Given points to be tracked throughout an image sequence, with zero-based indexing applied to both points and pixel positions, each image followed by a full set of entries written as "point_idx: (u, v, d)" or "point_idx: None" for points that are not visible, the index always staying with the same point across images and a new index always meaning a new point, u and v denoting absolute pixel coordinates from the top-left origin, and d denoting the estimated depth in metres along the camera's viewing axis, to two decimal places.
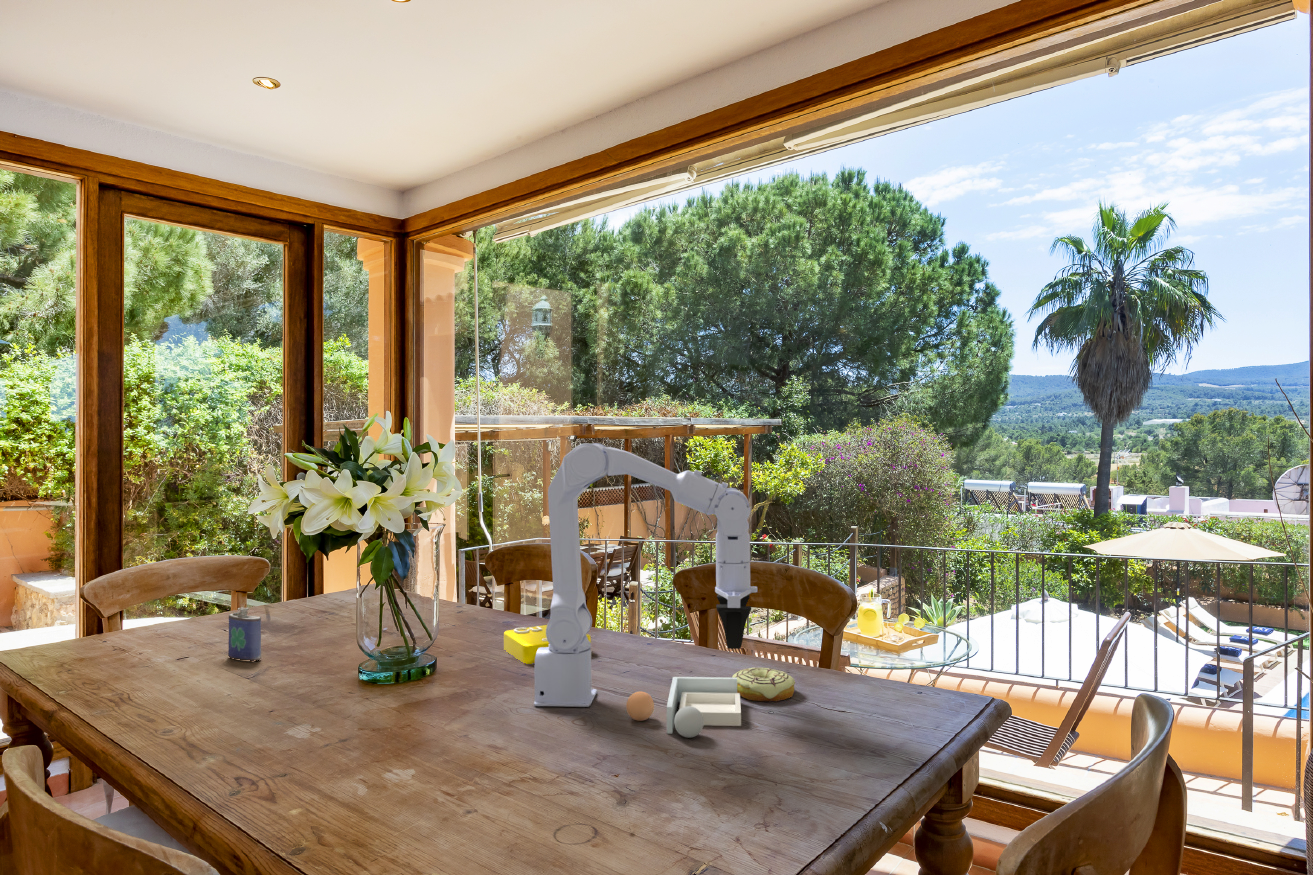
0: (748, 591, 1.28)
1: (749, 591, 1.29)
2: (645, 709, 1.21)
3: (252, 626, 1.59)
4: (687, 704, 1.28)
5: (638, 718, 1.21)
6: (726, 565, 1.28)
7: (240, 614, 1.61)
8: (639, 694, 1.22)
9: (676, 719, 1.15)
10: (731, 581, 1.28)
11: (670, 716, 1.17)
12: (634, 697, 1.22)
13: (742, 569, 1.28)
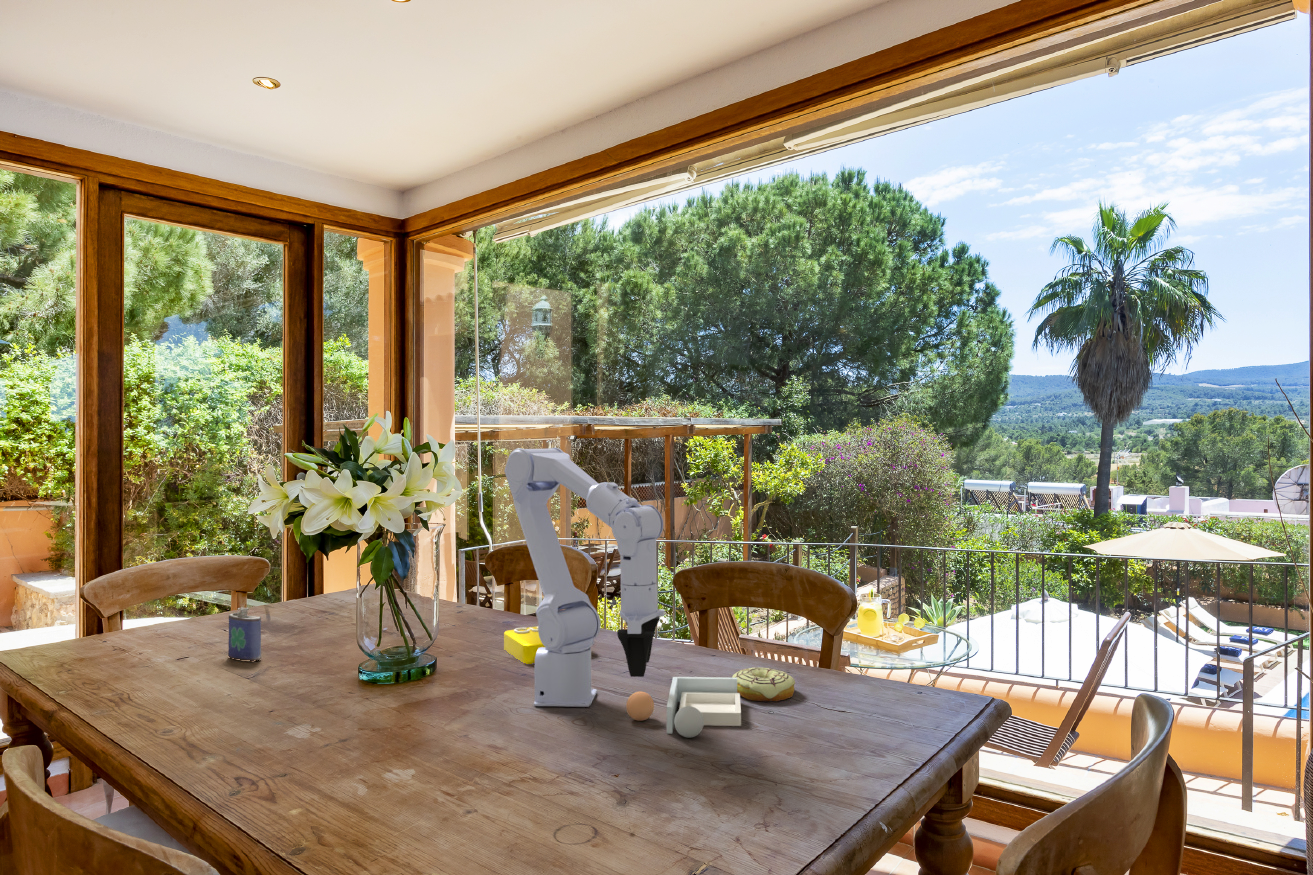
0: (653, 615, 1.21)
1: (654, 615, 1.21)
2: (645, 709, 1.21)
3: (252, 626, 1.59)
4: (687, 704, 1.28)
5: (638, 718, 1.21)
6: (629, 587, 1.21)
7: (240, 614, 1.61)
8: (639, 694, 1.22)
9: (676, 719, 1.15)
10: (634, 604, 1.20)
11: (670, 716, 1.17)
12: (634, 697, 1.22)
13: (646, 591, 1.21)
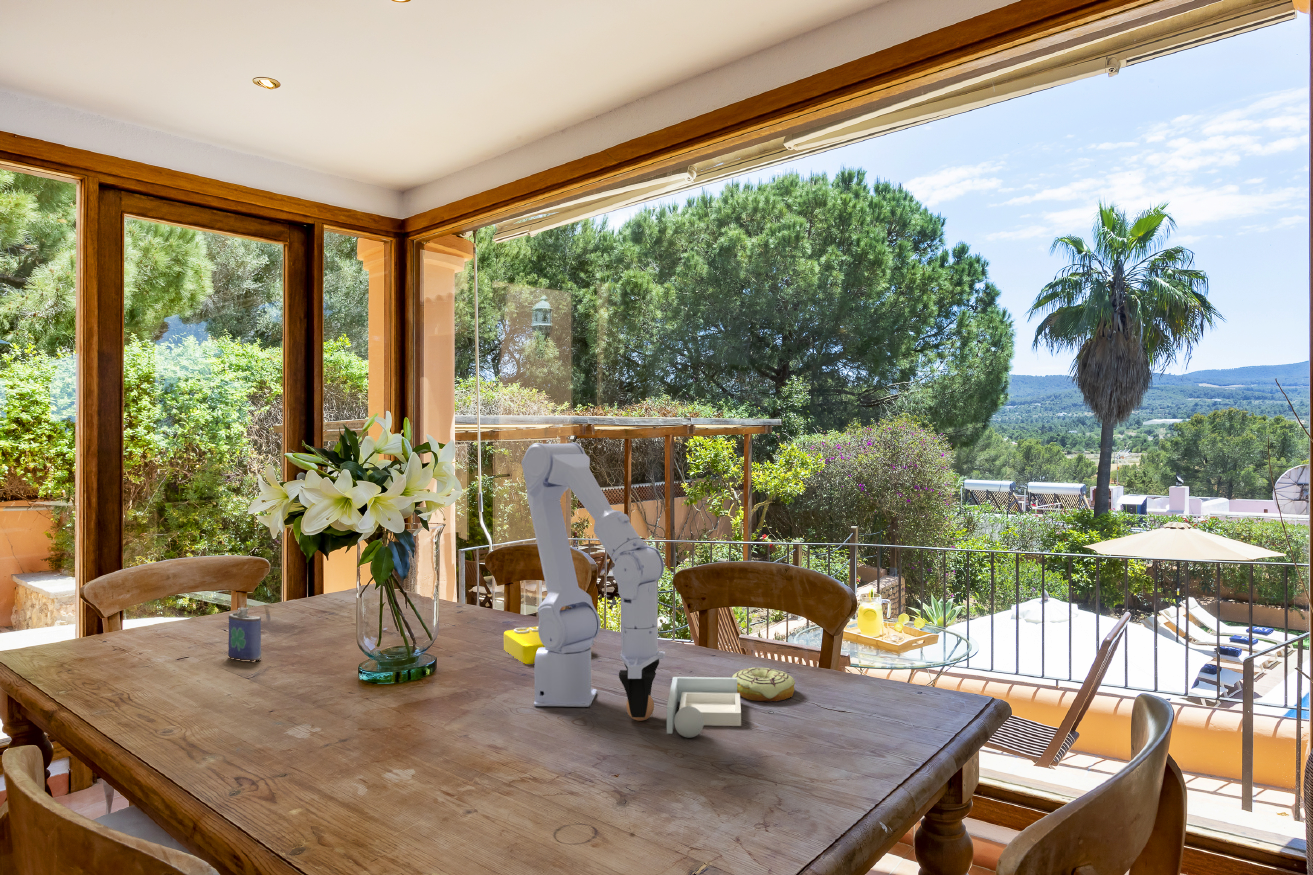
0: (653, 658, 1.21)
1: (655, 658, 1.21)
2: None
3: (252, 626, 1.59)
4: (687, 704, 1.28)
5: (638, 718, 1.21)
6: (630, 630, 1.21)
7: (240, 614, 1.61)
8: None
9: (676, 719, 1.15)
10: (635, 648, 1.20)
11: (670, 716, 1.17)
12: None
13: (647, 635, 1.21)
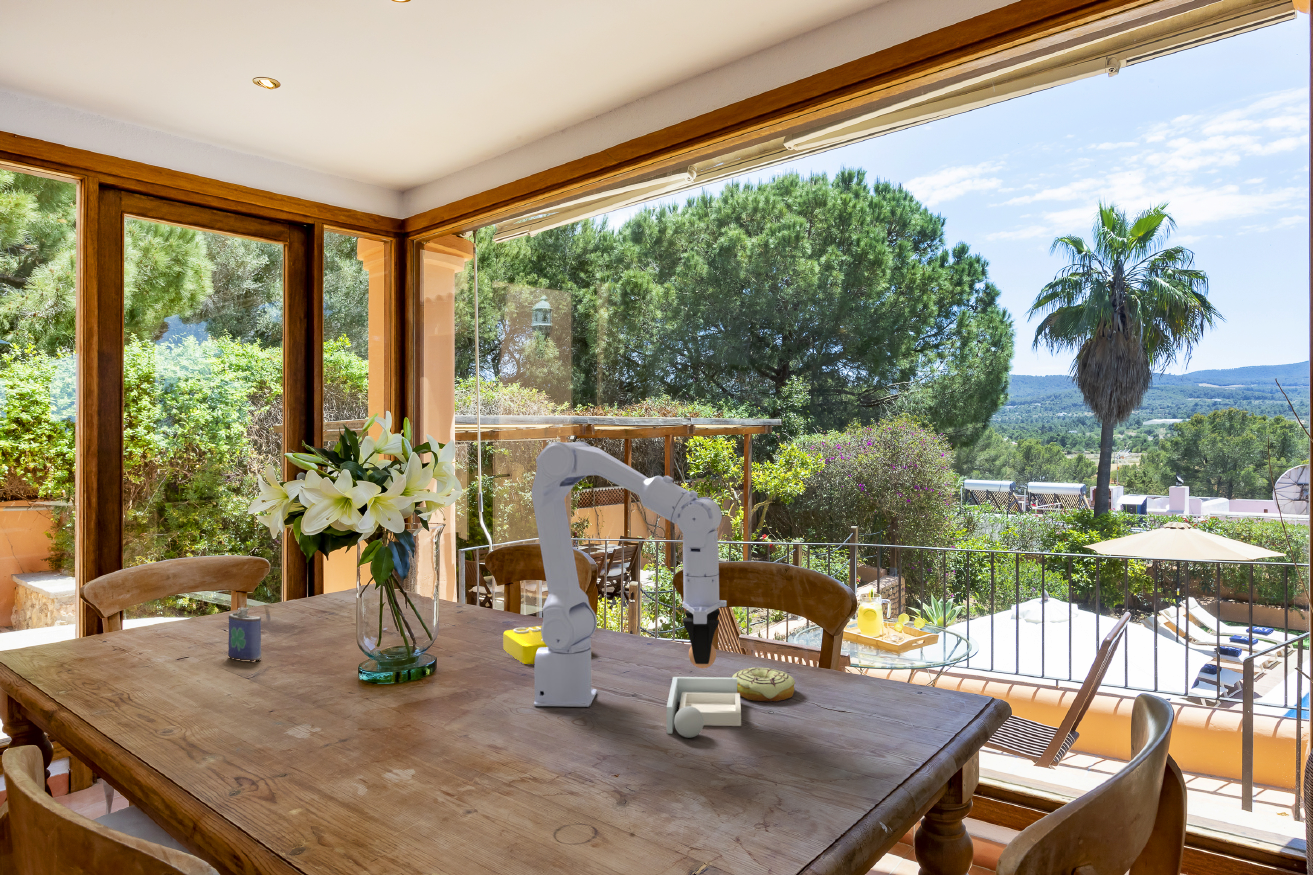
0: (716, 606, 1.23)
1: (717, 605, 1.23)
2: None
3: (252, 626, 1.59)
4: (687, 704, 1.28)
5: (701, 665, 1.23)
6: (693, 578, 1.22)
7: (240, 614, 1.61)
8: None
9: (676, 719, 1.15)
10: (698, 595, 1.22)
11: (670, 716, 1.17)
12: None
13: (710, 582, 1.22)
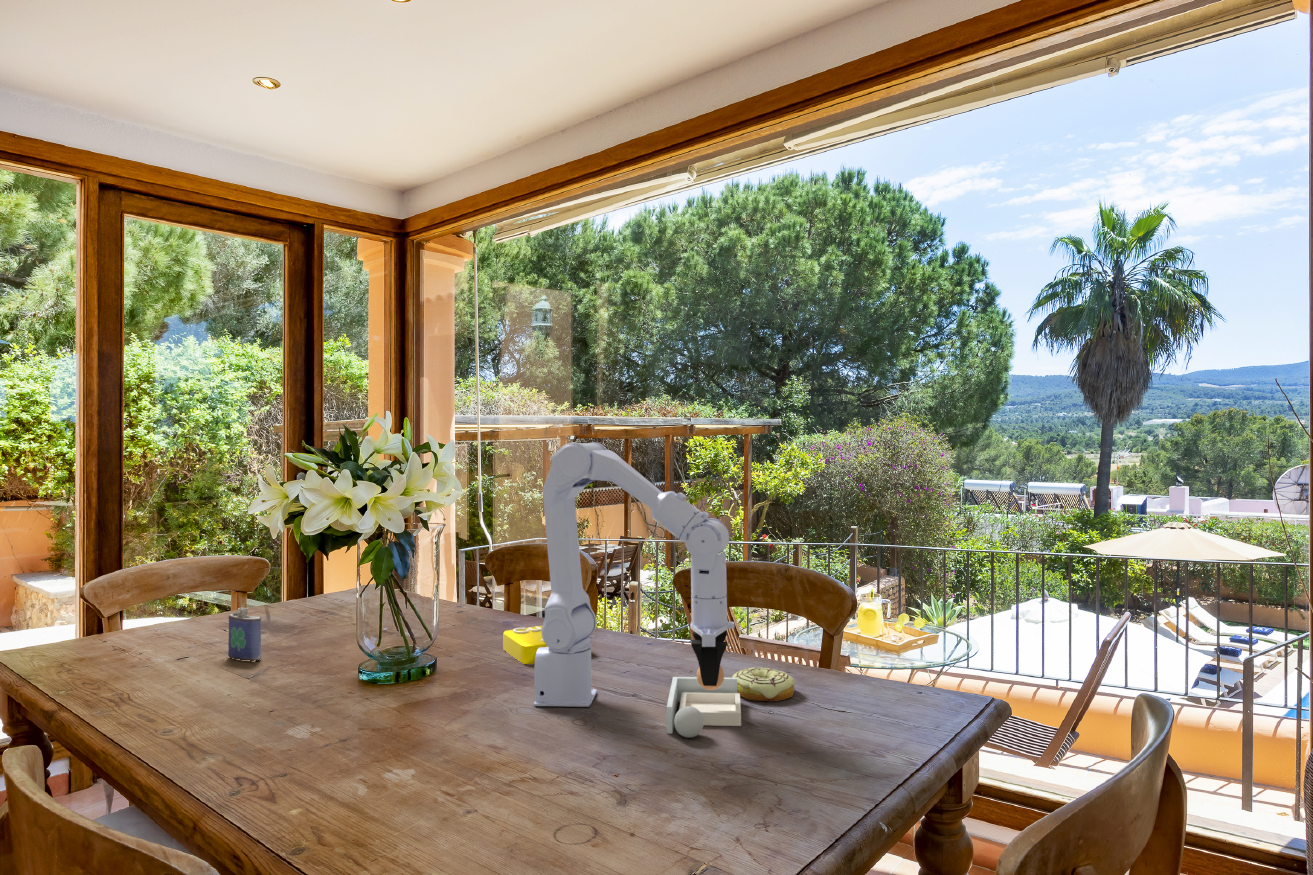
0: (724, 627, 1.23)
1: (725, 627, 1.23)
2: None
3: (252, 626, 1.59)
4: (687, 704, 1.28)
5: (709, 687, 1.23)
6: (701, 600, 1.23)
7: (240, 614, 1.61)
8: None
9: (676, 719, 1.15)
10: (706, 617, 1.22)
11: (670, 716, 1.17)
12: None
13: (718, 604, 1.23)
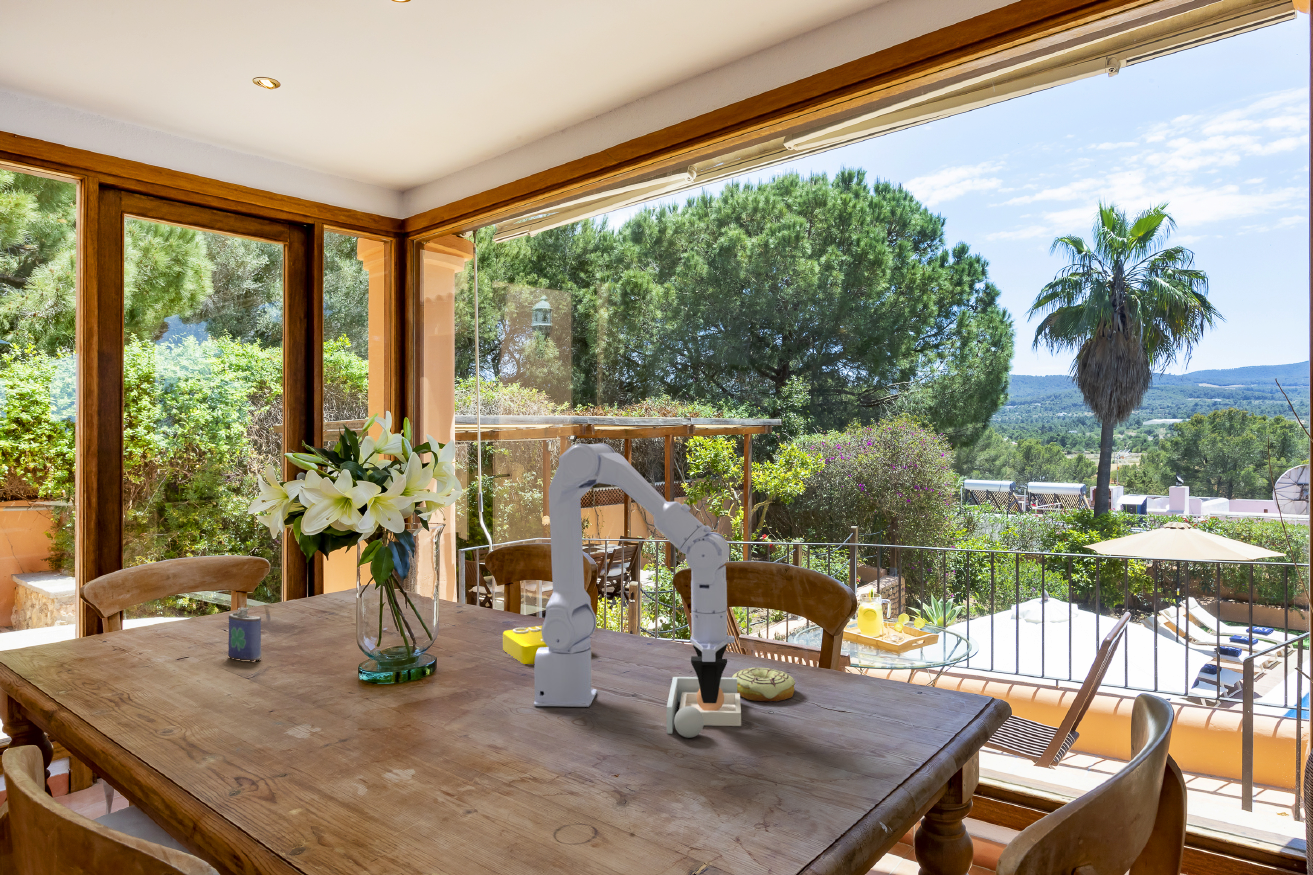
0: (724, 642, 1.23)
1: (726, 642, 1.23)
2: (717, 702, 1.23)
3: (252, 626, 1.59)
4: (687, 704, 1.28)
5: (709, 710, 1.23)
6: (701, 615, 1.23)
7: (240, 614, 1.61)
8: None
9: (676, 719, 1.15)
10: (706, 632, 1.22)
11: (670, 716, 1.17)
12: None
13: (718, 619, 1.23)
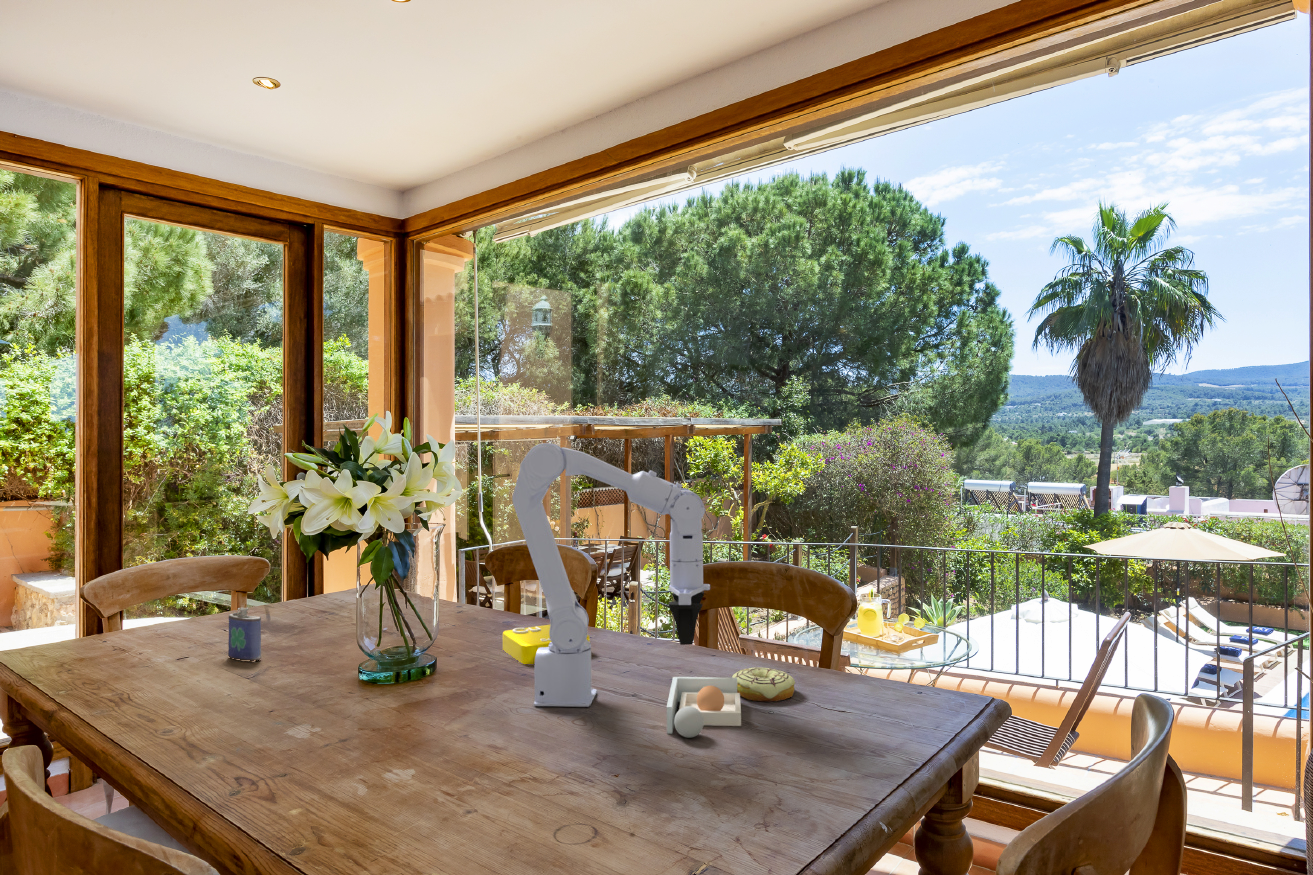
0: (700, 589, 1.32)
1: (701, 589, 1.33)
2: (717, 710, 1.22)
3: (252, 626, 1.59)
4: (687, 704, 1.28)
5: None
6: (679, 563, 1.32)
7: (240, 614, 1.61)
8: (710, 696, 1.22)
9: (676, 719, 1.15)
10: (683, 579, 1.32)
11: (670, 716, 1.17)
12: (705, 699, 1.22)
13: (694, 567, 1.32)
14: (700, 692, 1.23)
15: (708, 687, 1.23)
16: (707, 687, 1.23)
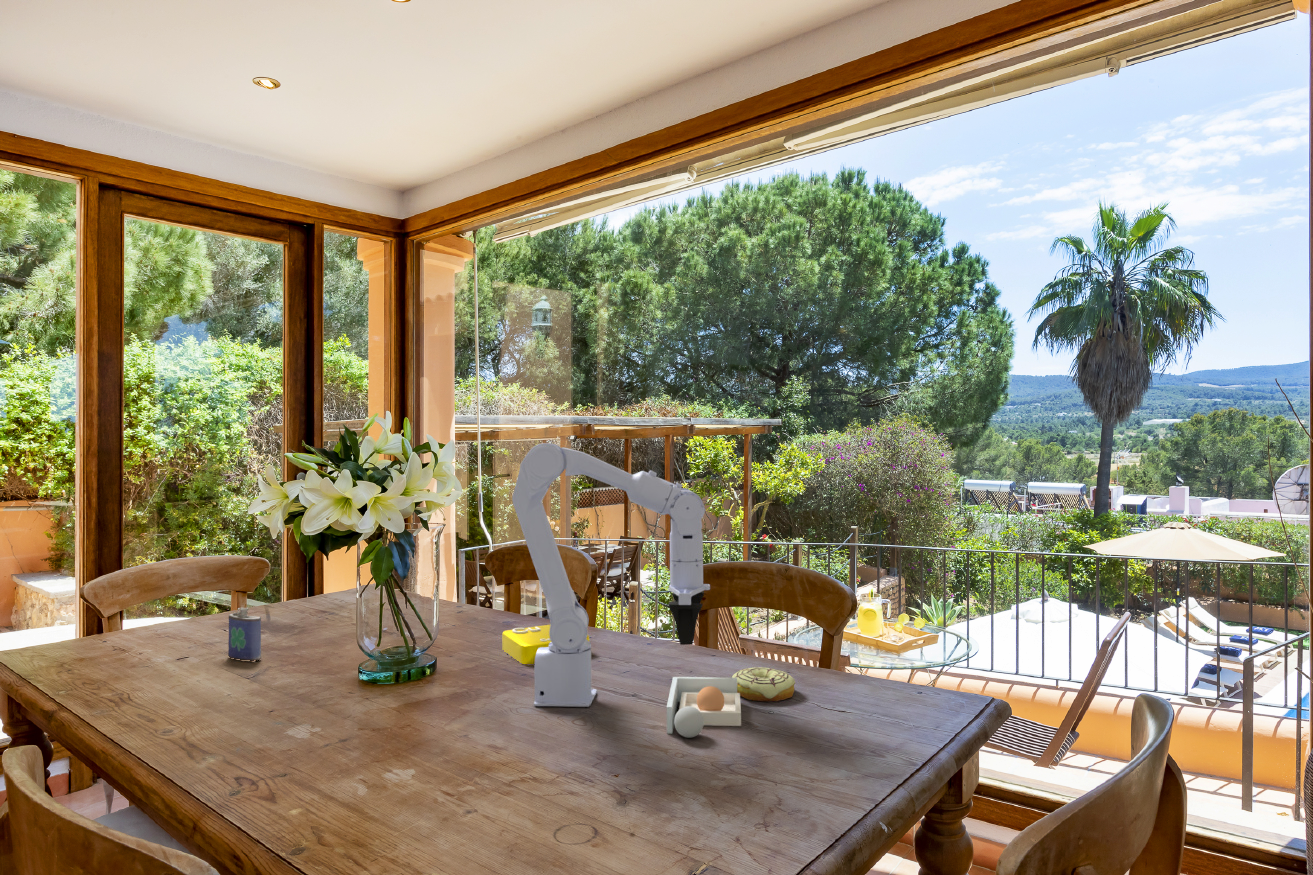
0: (700, 589, 1.32)
1: (701, 589, 1.33)
2: None
3: (252, 626, 1.59)
4: (687, 704, 1.28)
5: None
6: (679, 563, 1.32)
7: (240, 614, 1.61)
8: (710, 698, 1.21)
9: (676, 719, 1.15)
10: (683, 579, 1.32)
11: (670, 716, 1.17)
12: (705, 701, 1.21)
13: (694, 567, 1.32)
14: (700, 693, 1.23)
15: (708, 689, 1.23)
16: (707, 688, 1.23)
